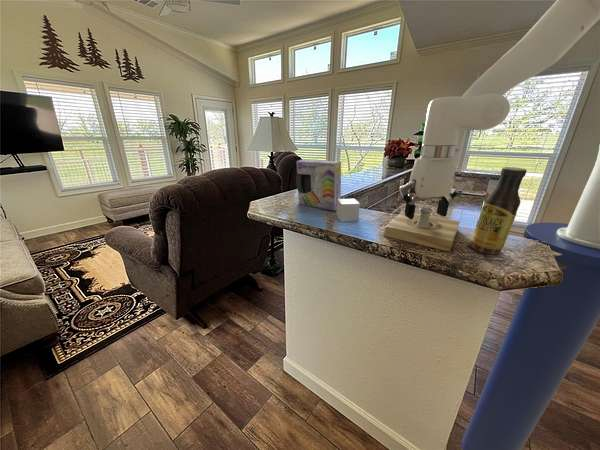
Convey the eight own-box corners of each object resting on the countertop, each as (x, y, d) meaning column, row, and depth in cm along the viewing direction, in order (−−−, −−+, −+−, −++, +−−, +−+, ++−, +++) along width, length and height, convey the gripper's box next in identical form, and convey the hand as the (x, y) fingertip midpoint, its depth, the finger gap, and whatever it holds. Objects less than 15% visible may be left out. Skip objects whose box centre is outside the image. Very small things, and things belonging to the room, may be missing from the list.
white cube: (340, 221, 77) (341, 204, 75) (336, 215, 83) (337, 199, 81) (358, 220, 78) (359, 203, 76) (353, 214, 83) (354, 198, 81)
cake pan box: (295, 203, 98) (294, 159, 91) (303, 200, 101) (303, 158, 95) (333, 212, 86) (335, 163, 79) (341, 209, 89) (343, 161, 83)
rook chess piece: (409, 232, 68) (414, 206, 65) (417, 228, 71) (421, 203, 68) (425, 237, 65) (431, 210, 62) (432, 233, 67) (438, 206, 64)
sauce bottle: (463, 246, 60) (485, 166, 52) (481, 242, 61) (504, 165, 54) (490, 258, 54) (519, 171, 46) (509, 253, 56) (539, 169, 48)
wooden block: (400, 219, 78) (402, 210, 77) (457, 230, 69) (459, 220, 68) (384, 236, 66) (385, 226, 65) (449, 251, 57) (452, 240, 56)
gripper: (457, 150, 64) (444, 210, 70) (397, 152, 62) (389, 213, 68) (480, 152, 57) (463, 218, 63) (413, 155, 55) (403, 223, 61)
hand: (425, 216), depth 66 cm, fingers open, 9 cm apart
